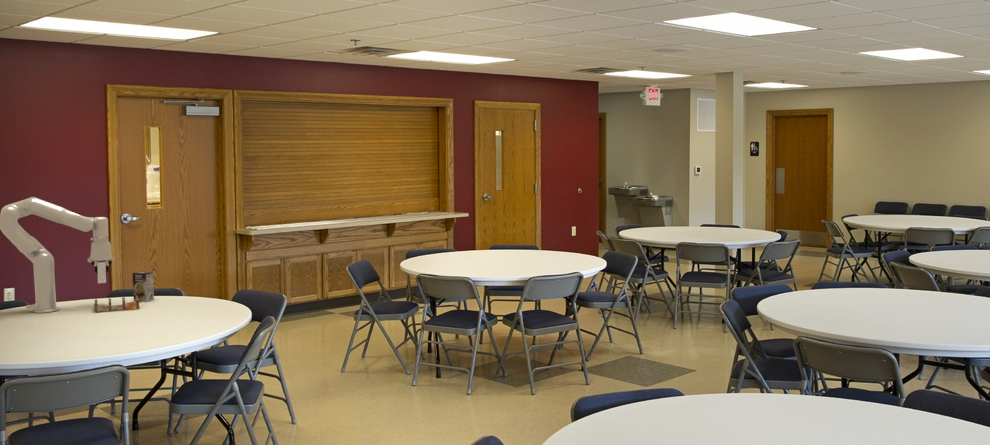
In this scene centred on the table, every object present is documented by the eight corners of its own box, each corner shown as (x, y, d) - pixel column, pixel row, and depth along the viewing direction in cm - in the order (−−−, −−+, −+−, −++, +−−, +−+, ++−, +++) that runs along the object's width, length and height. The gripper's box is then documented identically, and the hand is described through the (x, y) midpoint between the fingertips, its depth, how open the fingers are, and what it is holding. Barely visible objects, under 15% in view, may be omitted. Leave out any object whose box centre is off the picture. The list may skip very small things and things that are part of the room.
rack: (94, 313, 434) (94, 303, 434) (95, 308, 448) (94, 299, 448) (139, 309, 443) (139, 300, 443) (138, 304, 457) (137, 296, 457)
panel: (97, 283, 450) (97, 264, 449) (98, 280, 460) (97, 262, 459) (106, 282, 452) (105, 264, 451) (106, 280, 462) (105, 262, 461)
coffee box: (133, 301, 468) (131, 272, 467) (141, 299, 474) (139, 271, 473) (146, 302, 466) (145, 273, 464) (154, 300, 472) (153, 271, 471)
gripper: (83, 240, 447) (84, 274, 448) (117, 239, 454) (118, 273, 456) (83, 239, 454) (84, 273, 455) (117, 238, 461) (118, 271, 462)
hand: (101, 272), depth 455 cm, fingers closed on panel, 4 cm apart
